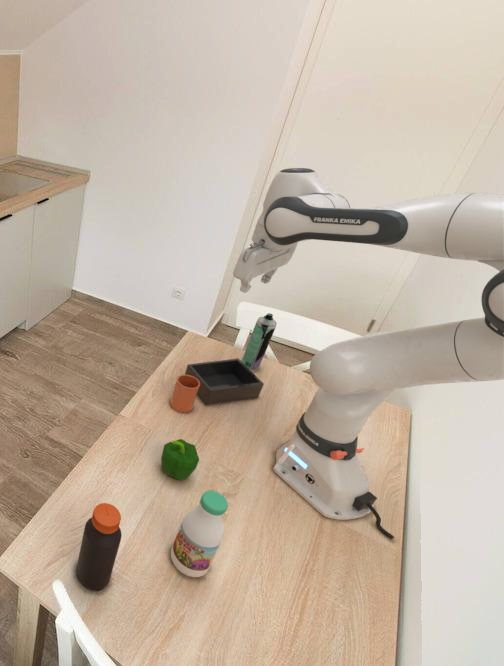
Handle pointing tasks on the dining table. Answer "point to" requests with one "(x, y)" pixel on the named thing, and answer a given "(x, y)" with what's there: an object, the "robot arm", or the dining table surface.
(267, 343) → the spray can
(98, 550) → the vinegar
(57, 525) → the dining table surface
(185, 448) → the bell pepper
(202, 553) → the milk bottle
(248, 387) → the dark open tray
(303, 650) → the dining table surface
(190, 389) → the cup
